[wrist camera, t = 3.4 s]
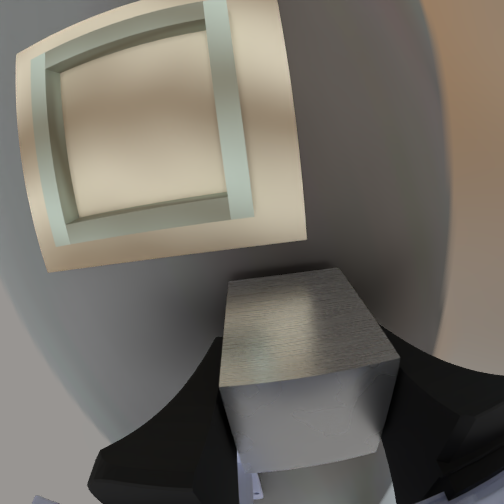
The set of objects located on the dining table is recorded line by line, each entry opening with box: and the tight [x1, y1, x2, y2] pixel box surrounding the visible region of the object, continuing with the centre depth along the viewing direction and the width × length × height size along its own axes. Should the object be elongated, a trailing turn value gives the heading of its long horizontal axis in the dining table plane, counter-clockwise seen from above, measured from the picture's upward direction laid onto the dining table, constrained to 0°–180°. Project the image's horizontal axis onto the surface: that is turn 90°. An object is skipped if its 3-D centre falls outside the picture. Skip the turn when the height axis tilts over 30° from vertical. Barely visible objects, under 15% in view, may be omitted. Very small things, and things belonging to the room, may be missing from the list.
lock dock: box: [16, 0, 307, 273], centre depth 10 cm, size 11×12×2 cm
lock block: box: [219, 267, 400, 474], centre depth 10 cm, size 4×4×6 cm
